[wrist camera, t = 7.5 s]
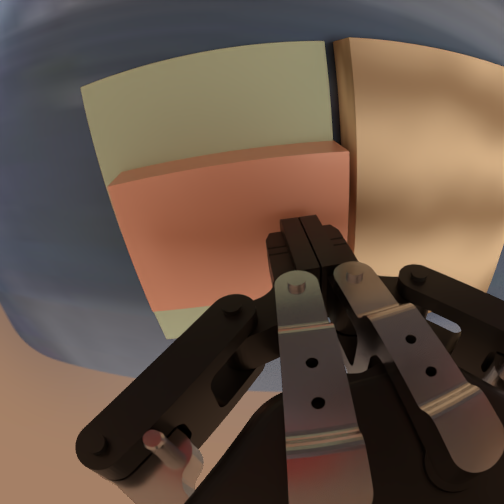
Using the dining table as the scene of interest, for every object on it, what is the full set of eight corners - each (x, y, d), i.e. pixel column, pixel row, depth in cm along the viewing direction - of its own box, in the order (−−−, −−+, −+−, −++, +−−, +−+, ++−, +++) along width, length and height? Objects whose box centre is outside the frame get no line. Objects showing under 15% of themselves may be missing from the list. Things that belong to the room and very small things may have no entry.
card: (121, 171, 13) (106, 186, 11) (333, 140, 13) (349, 151, 11) (158, 287, 17) (152, 311, 15) (332, 264, 17) (343, 286, 15)
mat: (83, 86, 11) (80, 87, 10) (322, 41, 11) (324, 41, 10) (167, 335, 19) (166, 339, 19) (330, 313, 19) (331, 316, 19)
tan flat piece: (332, 41, 11) (349, 37, 9) (504, 70, 11) (526, 75, 9) (337, 311, 19) (346, 333, 18) (472, 279, 19) (485, 294, 18)
